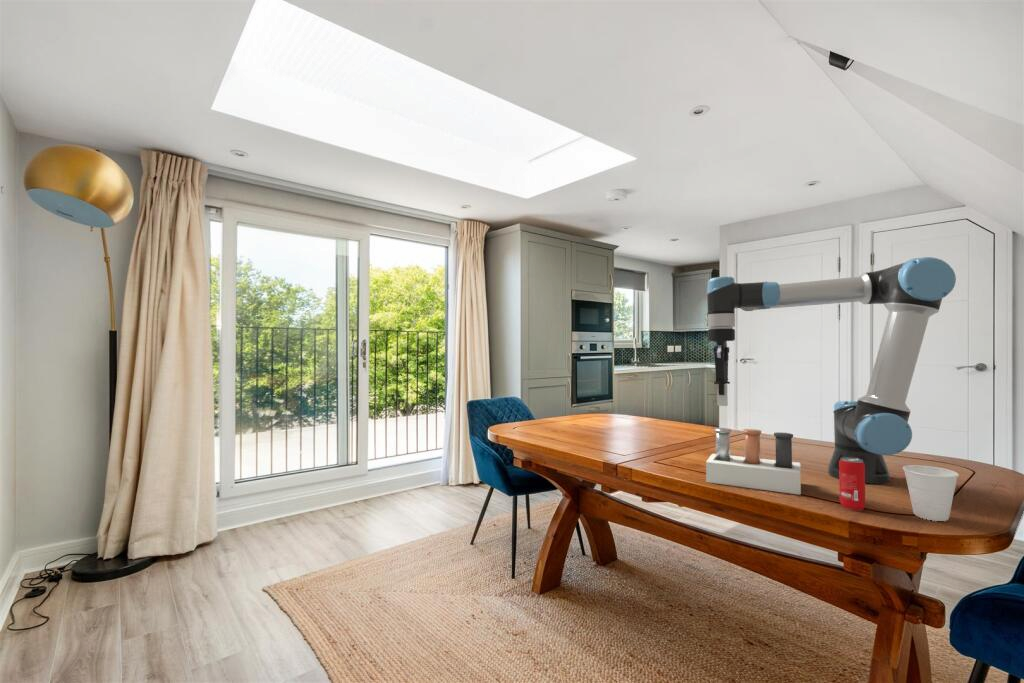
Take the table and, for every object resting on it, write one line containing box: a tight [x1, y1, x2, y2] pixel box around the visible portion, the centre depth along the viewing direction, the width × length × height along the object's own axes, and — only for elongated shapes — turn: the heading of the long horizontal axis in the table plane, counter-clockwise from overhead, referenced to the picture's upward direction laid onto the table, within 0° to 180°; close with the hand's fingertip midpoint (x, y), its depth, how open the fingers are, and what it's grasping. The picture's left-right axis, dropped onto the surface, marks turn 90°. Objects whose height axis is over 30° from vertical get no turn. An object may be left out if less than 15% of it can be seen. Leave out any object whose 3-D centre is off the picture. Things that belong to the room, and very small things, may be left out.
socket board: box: [705, 453, 802, 496], centre depth 138 cm, size 24×12×6 cm, turn 58°
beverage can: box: [838, 457, 866, 512], centre depth 117 cm, size 5×5×12 cm
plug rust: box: [742, 428, 762, 465], centre depth 138 cm, size 5×5×10 cm
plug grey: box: [713, 427, 732, 462], centre depth 142 cm, size 5×5×10 cm
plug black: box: [773, 432, 794, 469], centre depth 134 cm, size 5×5×10 cm
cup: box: [902, 464, 960, 522], centre depth 110 cm, size 10×10×11 cm
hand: (722, 405), depth 142 cm, fingers closed
